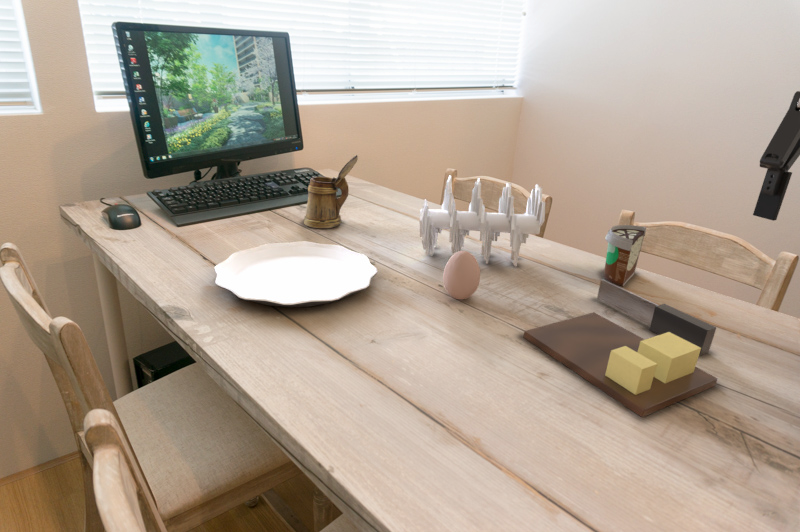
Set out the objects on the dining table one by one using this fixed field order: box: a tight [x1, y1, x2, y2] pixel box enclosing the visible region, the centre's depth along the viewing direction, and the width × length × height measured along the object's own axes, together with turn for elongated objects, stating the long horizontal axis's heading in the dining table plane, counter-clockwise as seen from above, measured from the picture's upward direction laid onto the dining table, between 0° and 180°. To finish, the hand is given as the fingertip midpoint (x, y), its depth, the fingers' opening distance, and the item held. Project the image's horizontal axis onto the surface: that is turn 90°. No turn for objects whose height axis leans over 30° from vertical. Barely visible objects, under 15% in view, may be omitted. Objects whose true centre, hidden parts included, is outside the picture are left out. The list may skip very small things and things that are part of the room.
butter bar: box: [637, 332, 701, 383], centre depth 75 cm, size 5×6×4 cm
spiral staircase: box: [419, 175, 546, 267], centre depth 112 cm, size 18×18×25 cm
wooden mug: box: [303, 154, 359, 229], centre depth 129 cm, size 9×14×18 cm, turn 73°
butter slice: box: [605, 346, 657, 395], centre depth 71 cm, size 5×3×4 cm, turn 30°
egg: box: [442, 250, 481, 300], centre depth 95 cm, size 7×7×9 cm
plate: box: [213, 240, 378, 308], centre depth 100 cm, size 29×29×2 cm
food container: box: [603, 224, 647, 287], centre depth 109 cm, size 12×6×10 cm, turn 144°
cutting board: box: [523, 311, 718, 418], centre depth 79 cm, size 22×16×1 cm
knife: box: [596, 278, 717, 357], centre depth 90 cm, size 21×2×4 cm, turn 30°
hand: (789, 213), depth 76 cm, fingers open, 13 cm apart
